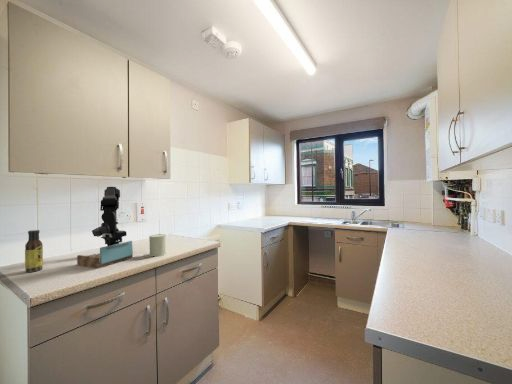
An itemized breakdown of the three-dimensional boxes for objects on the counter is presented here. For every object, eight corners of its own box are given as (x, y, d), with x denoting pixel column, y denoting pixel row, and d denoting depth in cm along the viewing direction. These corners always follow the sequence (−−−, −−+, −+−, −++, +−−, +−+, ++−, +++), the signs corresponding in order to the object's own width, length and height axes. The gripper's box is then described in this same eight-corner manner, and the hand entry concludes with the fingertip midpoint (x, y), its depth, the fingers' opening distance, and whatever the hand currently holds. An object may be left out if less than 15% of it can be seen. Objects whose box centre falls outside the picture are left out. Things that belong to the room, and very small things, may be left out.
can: (168, 252, 142) (168, 233, 142) (161, 256, 133) (160, 236, 133) (154, 252, 143) (154, 233, 143) (146, 256, 134) (145, 236, 134)
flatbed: (77, 265, 120) (77, 255, 120) (113, 255, 139) (113, 246, 139) (97, 268, 114) (97, 258, 114) (132, 257, 133) (132, 248, 133)
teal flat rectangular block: (100, 263, 115) (99, 247, 115) (130, 254, 131) (130, 240, 131) (102, 264, 115) (102, 248, 115) (132, 254, 131) (132, 240, 131)
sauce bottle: (41, 271, 112) (40, 230, 112) (23, 273, 108) (22, 231, 108) (44, 267, 117) (43, 228, 117) (27, 270, 114) (26, 230, 114)
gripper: (83, 222, 121) (83, 251, 121) (106, 223, 114) (107, 254, 114) (104, 219, 132) (104, 246, 131) (126, 220, 124) (127, 249, 124)
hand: (110, 249), depth 125 cm, fingers closed
